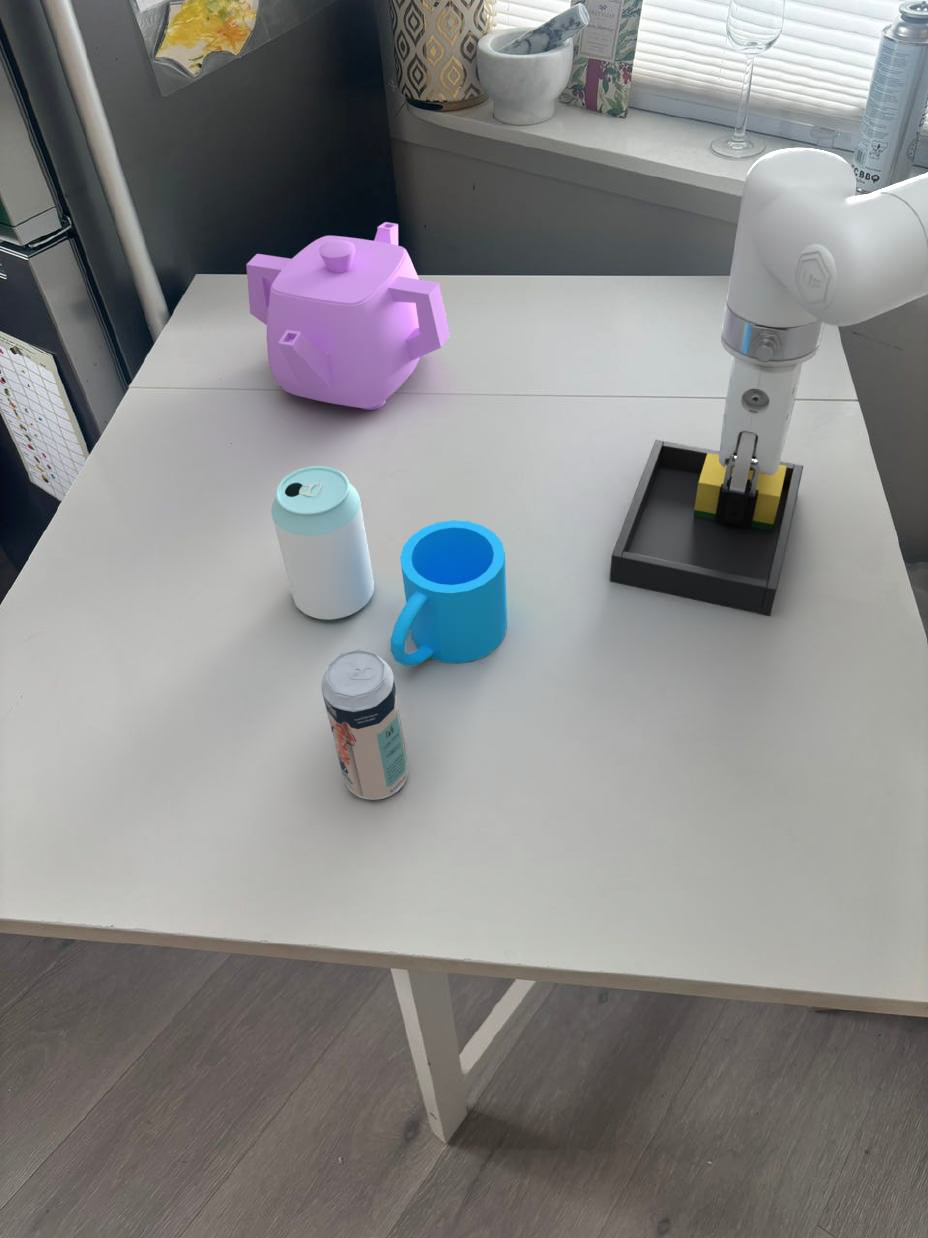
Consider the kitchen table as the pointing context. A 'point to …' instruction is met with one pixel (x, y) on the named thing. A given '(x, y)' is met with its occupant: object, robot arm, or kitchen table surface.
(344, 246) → the teapot
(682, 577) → the tray
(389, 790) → the beer can
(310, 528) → the can
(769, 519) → the sponge
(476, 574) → the mug
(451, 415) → the kitchen table surface
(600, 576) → the kitchen table surface
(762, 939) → the kitchen table surface
